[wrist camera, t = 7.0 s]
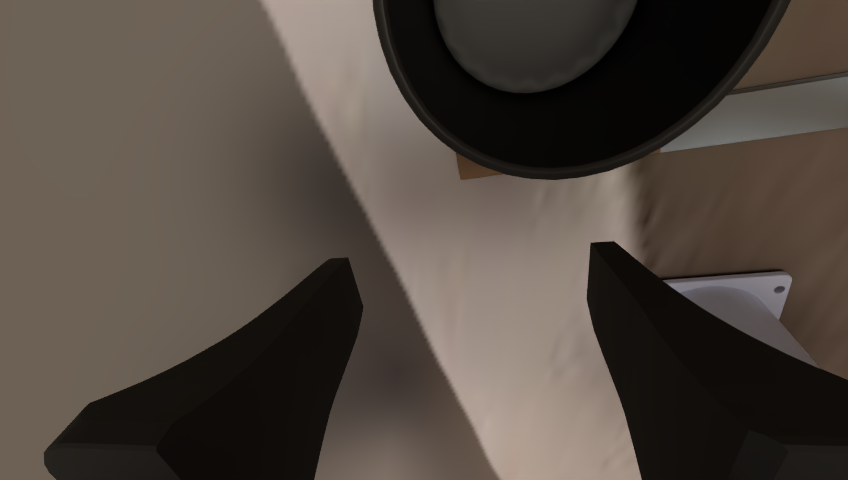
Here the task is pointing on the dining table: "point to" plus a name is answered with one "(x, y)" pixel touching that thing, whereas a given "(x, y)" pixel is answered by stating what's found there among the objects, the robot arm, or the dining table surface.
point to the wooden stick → (752, 116)
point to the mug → (568, 74)
